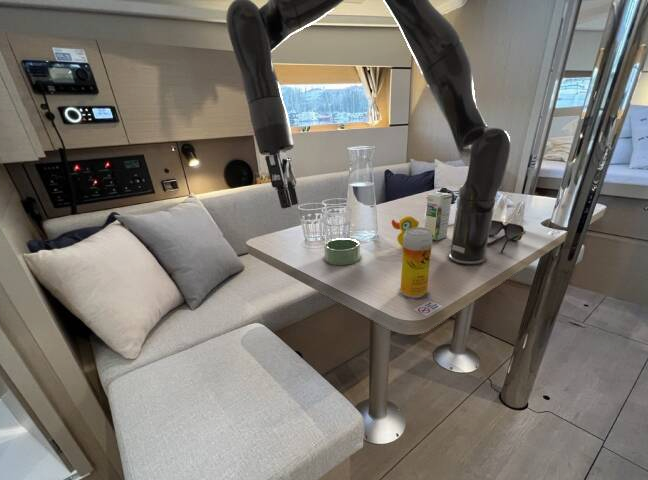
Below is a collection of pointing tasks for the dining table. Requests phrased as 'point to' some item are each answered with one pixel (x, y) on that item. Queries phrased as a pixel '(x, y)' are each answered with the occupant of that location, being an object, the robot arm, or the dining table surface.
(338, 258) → the green round bowl
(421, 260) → the yellow bottle
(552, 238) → the dining table surface
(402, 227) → the duckling
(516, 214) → the shaker set
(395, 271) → the dining table surface
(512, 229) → the sunglasses
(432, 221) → the syrup box
